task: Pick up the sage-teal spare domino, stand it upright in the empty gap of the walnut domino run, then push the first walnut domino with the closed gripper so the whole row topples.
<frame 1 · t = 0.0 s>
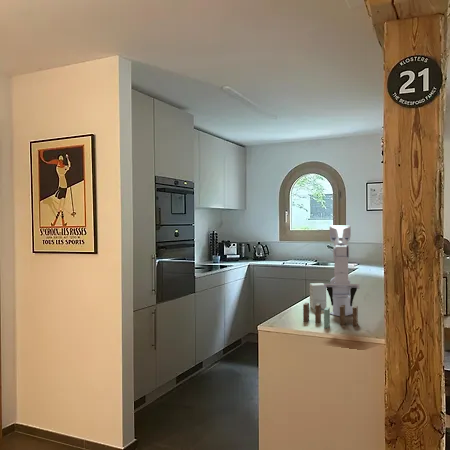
hand: (341, 305, 197), 11 cm above the countertop, tool pointing down, fingers open, 7 cm apart
domino 4: (318, 321, 214), on the countertop
supplement box: (318, 308, 245), on the countertop
domino 2: (342, 323, 209), on the countertop
domino 1: (355, 324, 207), on the countertop
spare domino: (327, 326, 204), on the countertop
domino 5: (306, 320, 216), on the countertop
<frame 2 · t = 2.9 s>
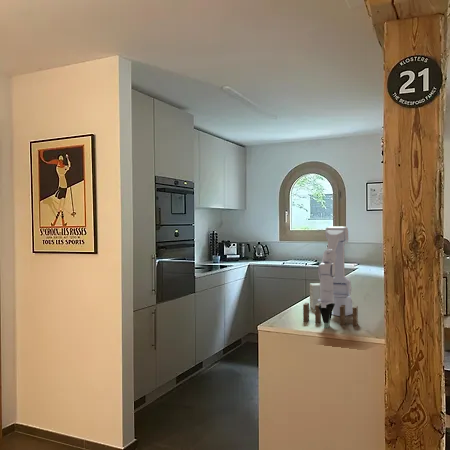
hand: (326, 321, 204), 2 cm above the countertop, tool pointing down, fingers closed on spare domino, 5 cm apart
spare domino: (327, 326, 204), on the countertop, touching gripper
everything else where it was.
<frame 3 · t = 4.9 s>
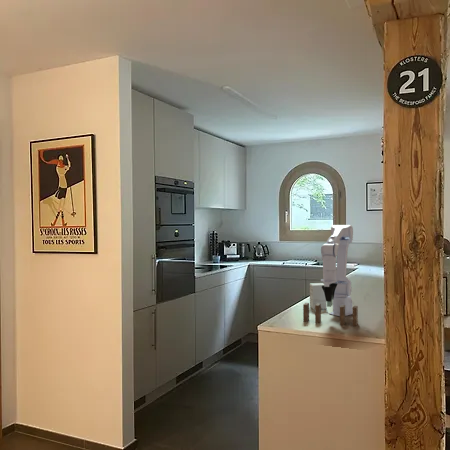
hand: (329, 300, 211), 10 cm above the countertop, tool pointing down, fingers closed on spare domino, 5 cm apart
spare domino: (329, 305, 211), point 8 cm above the countertop, touching gripper
everything else where it was.
when the fingers open (3 cm above the countertop, at t = 7.2 s): spare domino drops 1 cm, on the countertop.
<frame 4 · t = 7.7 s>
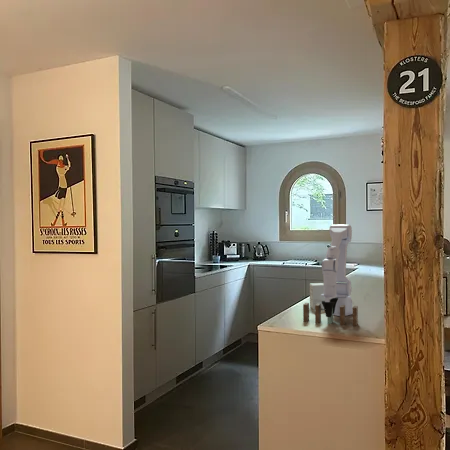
hand: (330, 315, 211), 3 cm above the countertop, tool pointing down, fingers open, 7 cm apart
spare domino: (330, 322, 212), on the countertop
everything else where it was.
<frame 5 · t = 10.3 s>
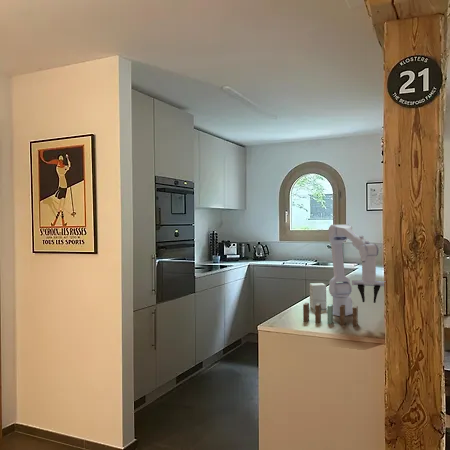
hand: (369, 302, 205), 10 cm above the countertop, tool pointing down, fingers open, 4 cm apart
nothing on the countertop moved.
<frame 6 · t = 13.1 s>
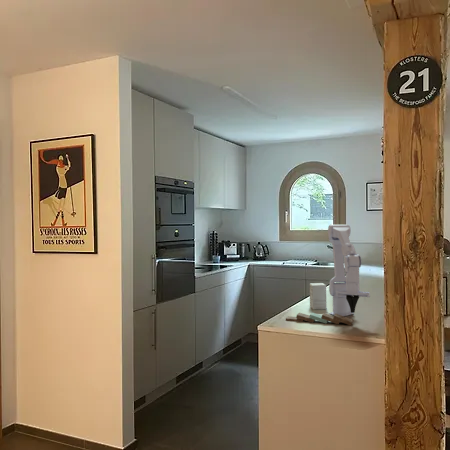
hand: (352, 312, 207), 5 cm above the countertop, tool pointing down, fingers closed
domino 4: (314, 319, 214), point 1 cm above the countertop, tilted 79°, touching domino 5, spare domino
domino 2: (339, 321, 210), point 1 cm above the countertop, tilted 73°, touching domino 1
domino 1: (351, 322, 208), point 1 cm above the countertop, tilted 73°, touching domino 2
spare domino: (327, 320, 212), point 1 cm above the countertop, tilted 75°, touching domino 4
domino 5: (303, 320, 216), on the countertop, tilted 90°, touching domino 4
everything else where it was.
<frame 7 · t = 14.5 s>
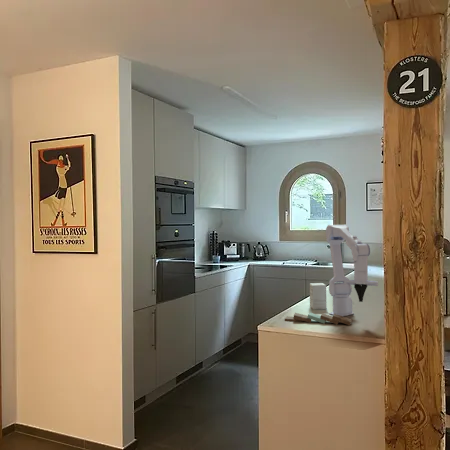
hand: (360, 301, 207), 10 cm above the countertop, tool pointing down, fingers closed
domino 4: (311, 319, 214), point 1 cm above the countertop, tilted 78°, touching spare domino
domino 5: (302, 320, 216), on the countertop, tilted 90°
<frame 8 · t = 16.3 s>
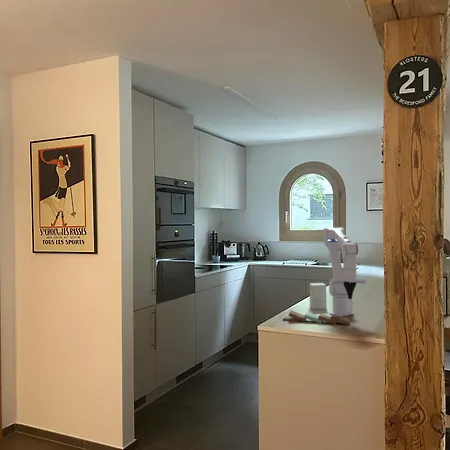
hand: (350, 298, 213), 10 cm above the countertop, tool pointing down, fingers closed
domino 4: (306, 319, 215), point 1 cm above the countertop, tilted 71°, touching domino 5, spare domino
spare domino: (322, 320, 213), point 1 cm above the countertop, tilted 76°, touching domino 4
domino 5: (300, 320, 216), on the countertop, tilted 90°, touching domino 4
at the end: domino 5 tilted 90°; spare domino tilted 75°; spare domino inside the target area (1.5 cm from its centre), point 0.7 cm above the countertop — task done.
